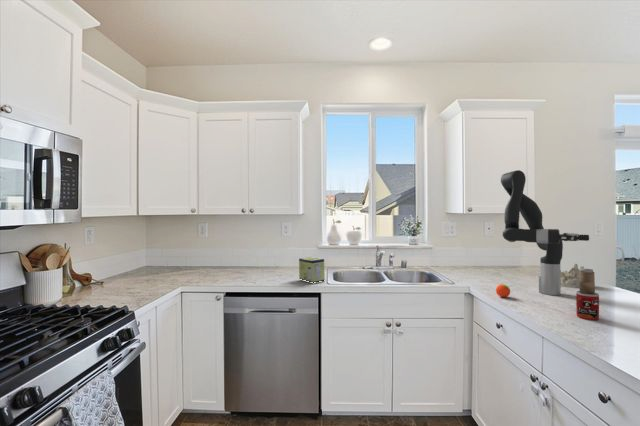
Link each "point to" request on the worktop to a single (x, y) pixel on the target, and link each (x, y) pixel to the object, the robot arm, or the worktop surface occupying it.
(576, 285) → the beige irregular lump
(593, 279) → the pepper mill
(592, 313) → the canned food
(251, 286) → the worktop surface
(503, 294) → the clementine
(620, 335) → the worktop surface
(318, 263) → the protein box
